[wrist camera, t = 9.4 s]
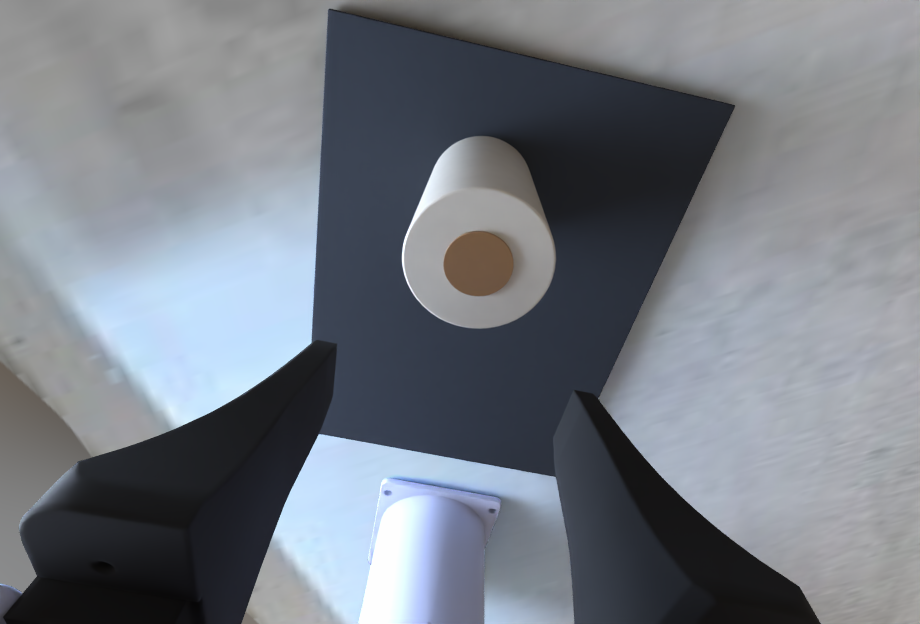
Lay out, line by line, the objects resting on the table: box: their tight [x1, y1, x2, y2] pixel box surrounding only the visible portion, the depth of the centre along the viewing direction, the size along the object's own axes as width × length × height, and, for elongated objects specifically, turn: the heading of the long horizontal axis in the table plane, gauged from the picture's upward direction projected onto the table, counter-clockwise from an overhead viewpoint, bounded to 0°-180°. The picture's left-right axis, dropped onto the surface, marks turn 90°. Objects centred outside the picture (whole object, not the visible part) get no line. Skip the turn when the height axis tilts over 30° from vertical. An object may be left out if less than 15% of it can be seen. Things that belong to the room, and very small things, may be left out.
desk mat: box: [312, 9, 735, 477], centre depth 23 cm, size 22×16×1 cm
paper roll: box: [402, 136, 556, 329], centre depth 17 cm, size 8×4×4 cm
